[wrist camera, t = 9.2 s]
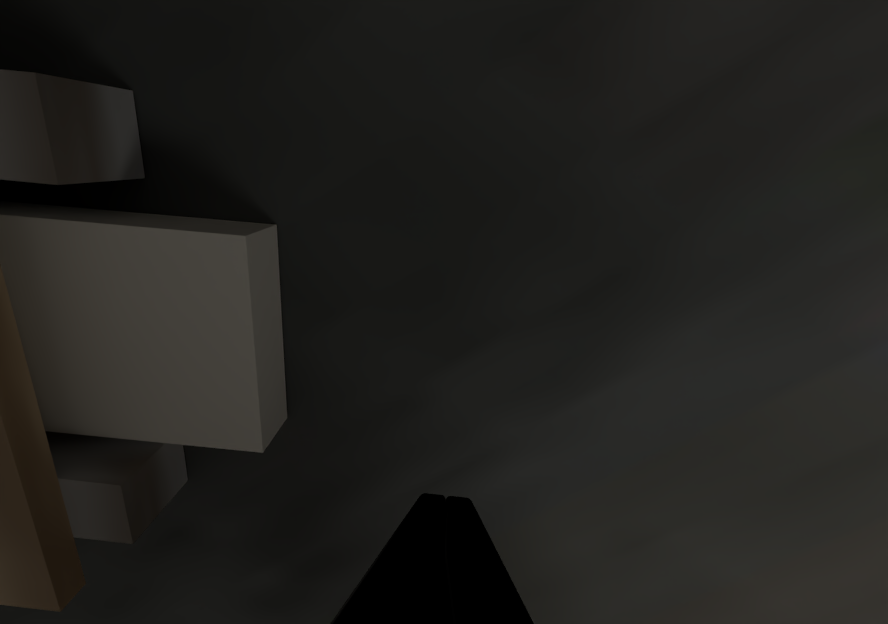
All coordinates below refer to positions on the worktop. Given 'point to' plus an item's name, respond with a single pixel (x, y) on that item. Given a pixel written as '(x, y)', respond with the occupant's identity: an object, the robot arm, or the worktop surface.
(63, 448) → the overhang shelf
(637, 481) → the worktop surface
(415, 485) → the worktop surface
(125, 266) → the thin gray tile
